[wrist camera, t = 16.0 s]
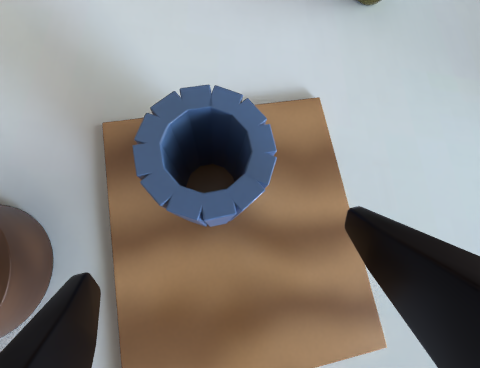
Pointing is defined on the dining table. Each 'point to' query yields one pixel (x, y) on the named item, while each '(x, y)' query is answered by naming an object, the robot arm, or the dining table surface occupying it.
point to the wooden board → (241, 261)
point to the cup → (369, 2)
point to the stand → (22, 266)
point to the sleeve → (204, 152)
